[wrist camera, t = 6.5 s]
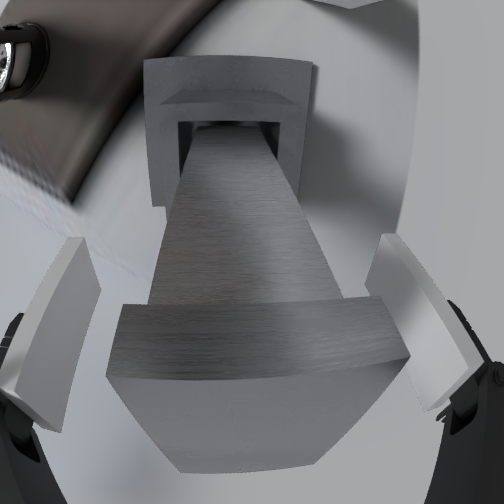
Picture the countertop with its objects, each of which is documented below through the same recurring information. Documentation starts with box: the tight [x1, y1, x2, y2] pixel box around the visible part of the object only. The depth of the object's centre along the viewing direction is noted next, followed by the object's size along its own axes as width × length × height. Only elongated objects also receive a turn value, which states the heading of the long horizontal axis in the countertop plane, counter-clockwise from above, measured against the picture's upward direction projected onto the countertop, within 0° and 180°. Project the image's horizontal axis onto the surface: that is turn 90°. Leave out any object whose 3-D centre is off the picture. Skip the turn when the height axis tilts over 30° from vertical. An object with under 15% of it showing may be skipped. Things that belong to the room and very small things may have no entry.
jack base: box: [143, 55, 313, 222], centre depth 23 cm, size 16×16×12 cm
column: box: [106, 126, 411, 474], centre depth 14 cm, size 7×4×20 cm, turn 177°
